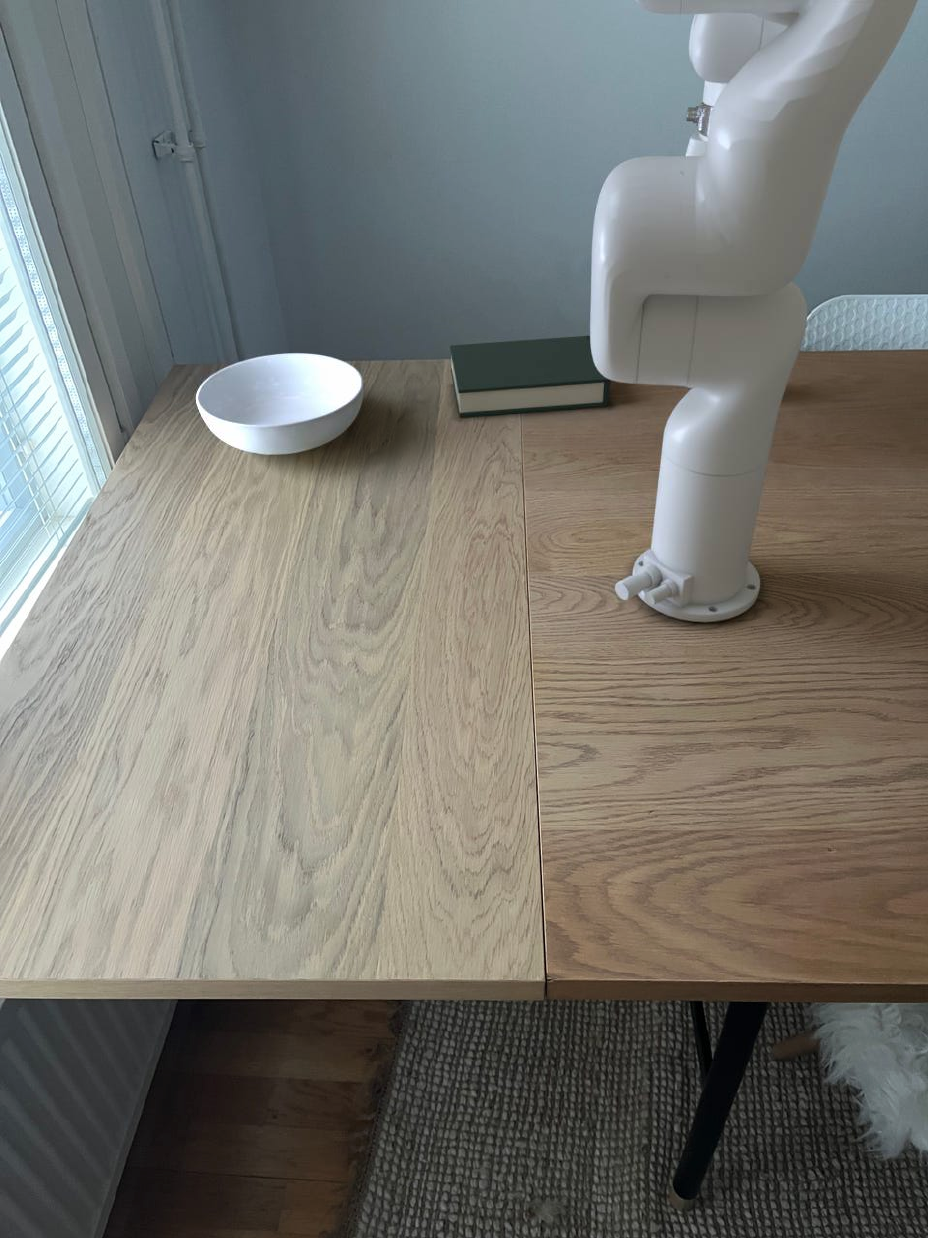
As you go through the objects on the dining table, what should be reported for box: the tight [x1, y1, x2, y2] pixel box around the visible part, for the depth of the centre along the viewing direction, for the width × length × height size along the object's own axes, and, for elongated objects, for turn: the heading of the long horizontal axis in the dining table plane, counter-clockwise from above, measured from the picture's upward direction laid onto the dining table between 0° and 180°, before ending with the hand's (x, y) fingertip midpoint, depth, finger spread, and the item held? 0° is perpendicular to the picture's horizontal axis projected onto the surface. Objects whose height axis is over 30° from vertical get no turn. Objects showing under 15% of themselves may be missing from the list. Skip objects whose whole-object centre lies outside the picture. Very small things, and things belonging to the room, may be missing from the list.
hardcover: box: [449, 335, 611, 419], centre depth 130 cm, size 20×14×4 cm
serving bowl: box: [195, 352, 365, 456], centre depth 121 cm, size 21×21×7 cm
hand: (714, 289), depth 110 cm, fingers closed on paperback, 7 cm apart
